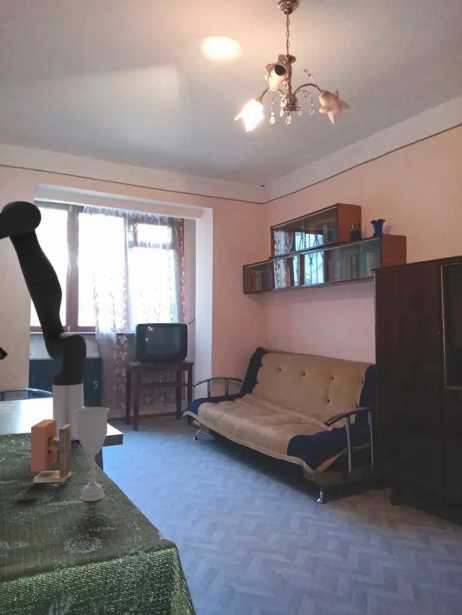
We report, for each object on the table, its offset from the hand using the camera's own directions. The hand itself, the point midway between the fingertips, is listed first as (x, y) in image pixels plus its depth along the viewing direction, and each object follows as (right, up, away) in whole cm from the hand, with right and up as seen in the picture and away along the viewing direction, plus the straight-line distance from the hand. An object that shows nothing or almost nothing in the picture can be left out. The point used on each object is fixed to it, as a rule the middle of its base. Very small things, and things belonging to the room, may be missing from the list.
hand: (1, 357), depth 116 cm
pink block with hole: (+14, -24, -8) cm, 29 cm away
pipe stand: (+16, -27, -8) cm, 33 cm away
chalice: (+29, -27, -20) cm, 44 cm away
